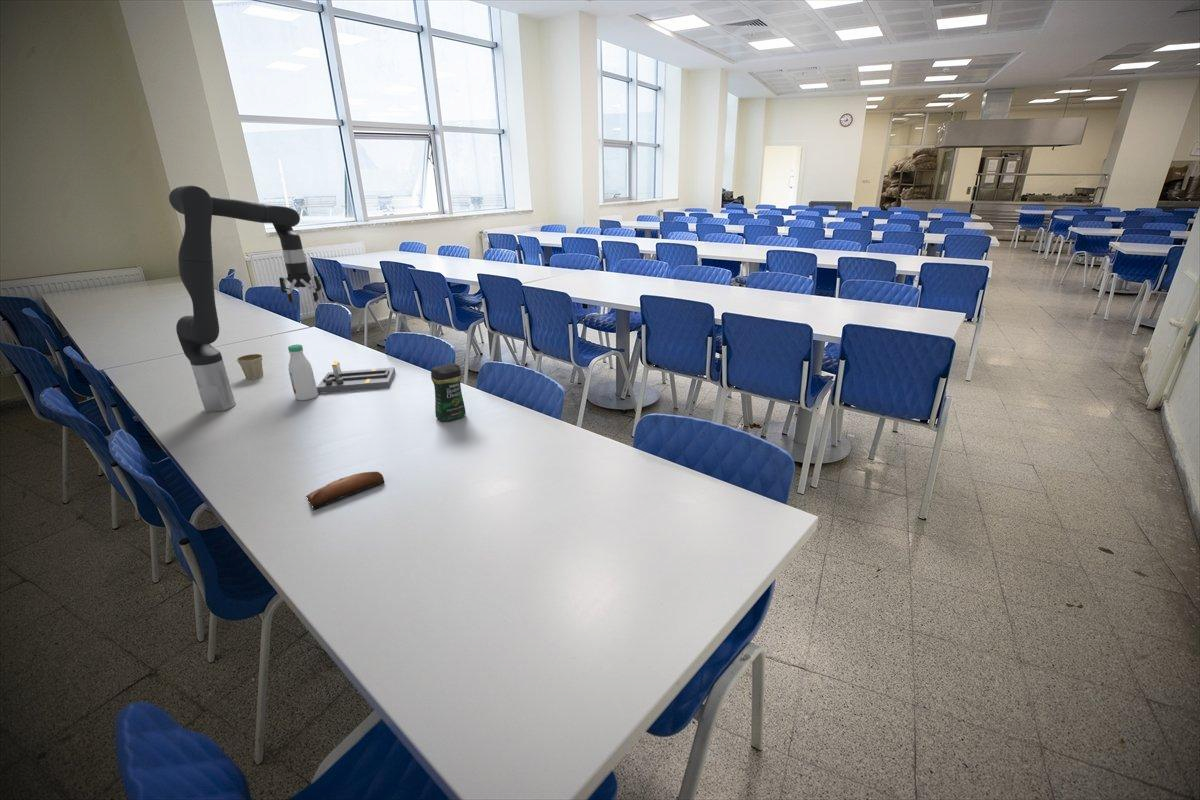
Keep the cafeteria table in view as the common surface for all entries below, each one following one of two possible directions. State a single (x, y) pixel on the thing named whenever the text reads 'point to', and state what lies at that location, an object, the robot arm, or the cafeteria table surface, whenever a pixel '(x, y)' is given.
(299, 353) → the milk bottle
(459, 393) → the coffee jar
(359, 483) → the sunglasses case
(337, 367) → the fader tab
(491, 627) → the cafeteria table surface
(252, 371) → the flower pot
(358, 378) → the console
